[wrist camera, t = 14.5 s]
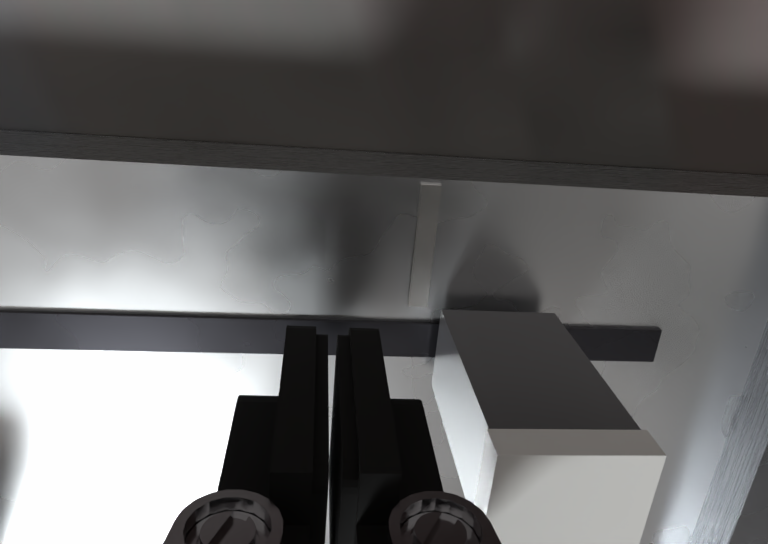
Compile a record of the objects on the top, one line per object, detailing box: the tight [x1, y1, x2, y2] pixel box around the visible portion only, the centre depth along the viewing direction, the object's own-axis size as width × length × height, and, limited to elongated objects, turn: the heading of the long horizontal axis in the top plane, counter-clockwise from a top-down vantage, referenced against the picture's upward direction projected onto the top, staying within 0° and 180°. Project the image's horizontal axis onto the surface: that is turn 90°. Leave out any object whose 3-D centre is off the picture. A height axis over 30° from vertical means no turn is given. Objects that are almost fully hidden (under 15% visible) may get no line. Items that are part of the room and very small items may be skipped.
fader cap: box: [431, 310, 666, 544], centre depth 12 cm, size 2×2×5 cm
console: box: [0, 130, 768, 544], centre depth 15 cm, size 26×14×3 cm, turn 85°
